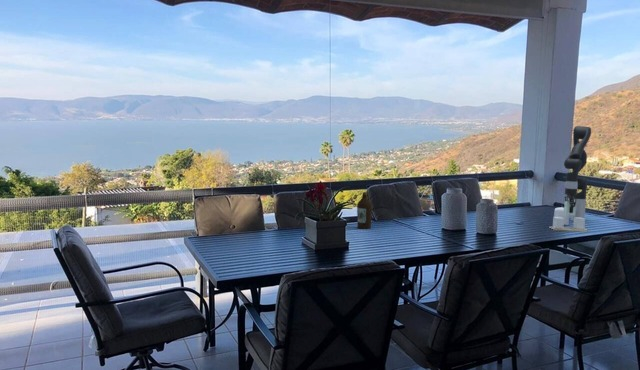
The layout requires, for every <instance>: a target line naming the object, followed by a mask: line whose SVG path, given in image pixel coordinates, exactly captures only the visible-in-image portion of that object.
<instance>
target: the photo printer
mask: <svg viewBox="0 0 640 370" xmlns="http://www.w3.org/2000/svg"><path fill="white" fill-rule="evenodd" d="M553 217H562V218H564V226H569V224H570V222H569V221H570V215H565V214H564V207H562V206H561V207H556V208H555V209H554V213H553Z"/></svg>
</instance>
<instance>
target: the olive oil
mask: <svg viewBox="0 0 640 370" xmlns="http://www.w3.org/2000/svg"><path fill="white" fill-rule="evenodd" d="M356 205H357V206H356V212H357V213H356V218H357V229H359V230H370V229H372V216H373V204H372V202H371V201H370V199H368V192H366V191H364V192H362V198H361V199H360V200H359V201H358V202H357V204H356Z"/></svg>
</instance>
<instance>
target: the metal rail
mask: <svg viewBox="0 0 640 370" xmlns="http://www.w3.org/2000/svg"><path fill="white" fill-rule="evenodd" d="M550 227H551V228H553V229H576V228H574V227H573V226H564V228H554V227H553V226H550ZM585 229H587V228H586V227H585Z"/></svg>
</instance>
